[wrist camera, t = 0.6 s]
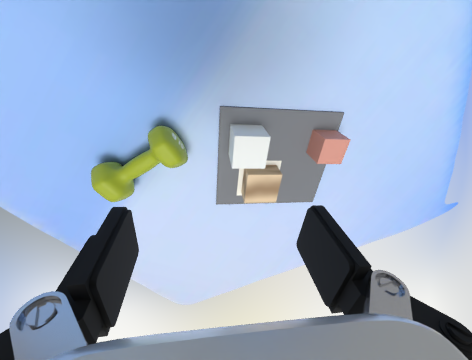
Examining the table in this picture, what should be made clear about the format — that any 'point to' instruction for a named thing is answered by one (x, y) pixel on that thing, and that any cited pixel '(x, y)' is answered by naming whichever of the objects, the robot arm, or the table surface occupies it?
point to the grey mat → (275, 150)
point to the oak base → (261, 184)
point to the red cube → (327, 146)
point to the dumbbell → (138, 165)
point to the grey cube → (248, 146)
